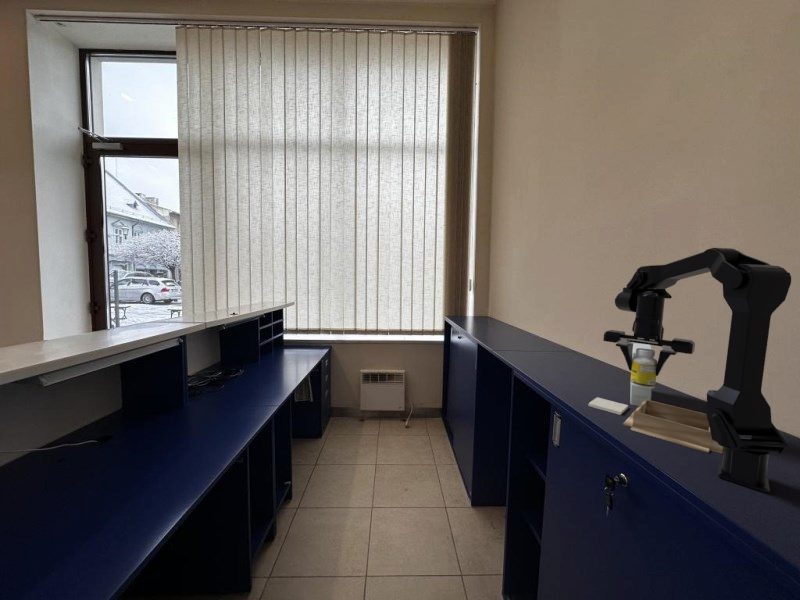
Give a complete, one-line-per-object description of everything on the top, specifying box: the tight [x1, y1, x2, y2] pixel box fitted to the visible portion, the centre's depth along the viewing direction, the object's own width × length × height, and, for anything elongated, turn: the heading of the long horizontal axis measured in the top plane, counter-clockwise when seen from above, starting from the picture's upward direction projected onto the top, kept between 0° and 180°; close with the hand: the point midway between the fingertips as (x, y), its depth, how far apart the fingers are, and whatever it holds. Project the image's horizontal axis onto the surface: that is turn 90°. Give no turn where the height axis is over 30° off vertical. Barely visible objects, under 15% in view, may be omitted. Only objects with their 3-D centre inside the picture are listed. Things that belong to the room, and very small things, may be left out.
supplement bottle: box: [630, 348, 658, 390], centre depth 87 cm, size 5×5×10 cm
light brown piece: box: [622, 399, 724, 455], centre depth 81 cm, size 18×18×4 cm
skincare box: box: [629, 342, 653, 407], centre depth 105 cm, size 21×6×16 cm, turn 144°
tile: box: [587, 396, 629, 416], centre depth 95 cm, size 8×8×1 cm
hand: (643, 372), depth 87 cm, fingers closed on supplement bottle, 5 cm apart
